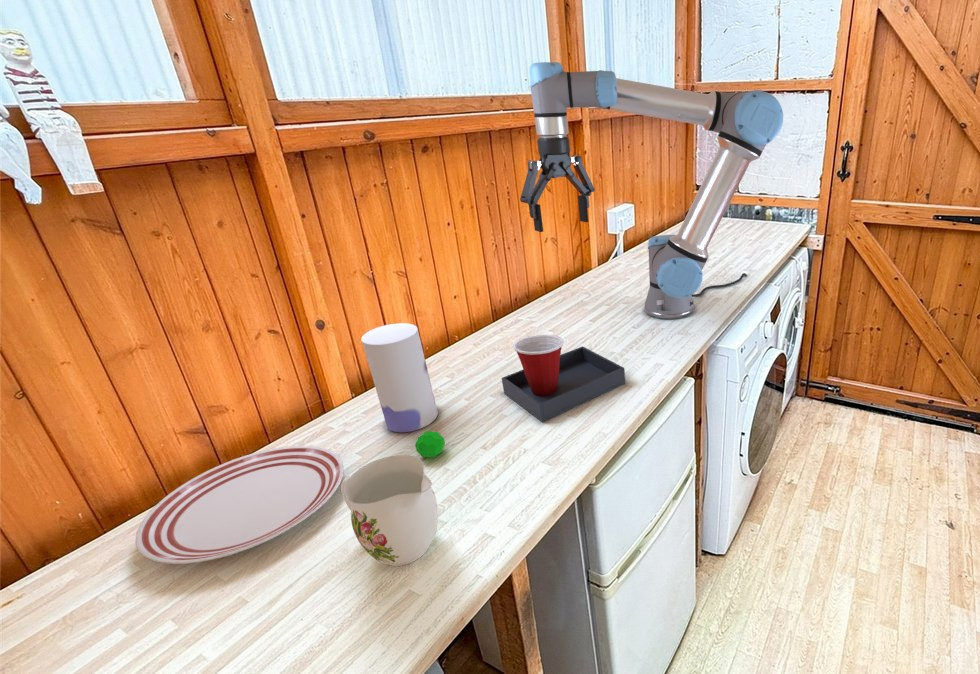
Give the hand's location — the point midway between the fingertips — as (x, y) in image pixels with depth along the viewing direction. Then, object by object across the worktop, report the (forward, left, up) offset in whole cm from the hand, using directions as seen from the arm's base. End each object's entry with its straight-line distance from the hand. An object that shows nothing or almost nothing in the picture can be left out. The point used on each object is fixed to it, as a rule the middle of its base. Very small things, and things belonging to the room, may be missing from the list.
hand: (562, 226), depth 131 cm
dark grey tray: (+12, +26, -31) cm, 42 cm away
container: (+44, +21, -31) cm, 58 cm away
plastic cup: (+16, +25, -30) cm, 43 cm away
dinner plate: (+70, +36, -31) cm, 84 cm away
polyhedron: (+42, +36, -31) cm, 63 cm away
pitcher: (+49, +57, -31) cm, 81 cm away
